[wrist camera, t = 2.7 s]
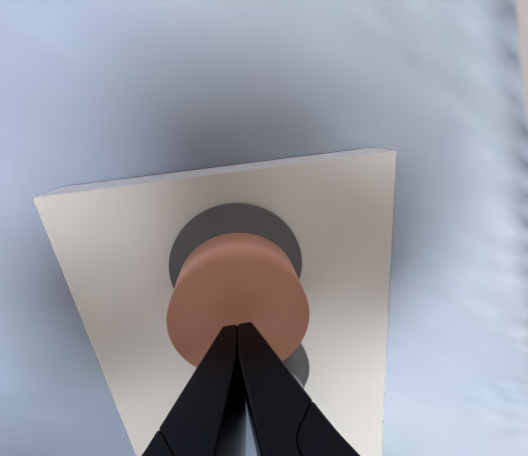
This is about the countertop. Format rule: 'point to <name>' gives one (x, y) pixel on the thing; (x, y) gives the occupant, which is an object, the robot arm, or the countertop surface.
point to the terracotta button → (237, 295)
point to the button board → (223, 222)
